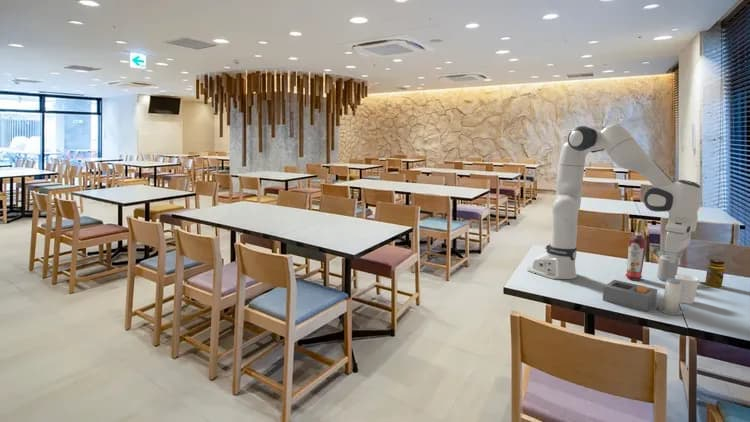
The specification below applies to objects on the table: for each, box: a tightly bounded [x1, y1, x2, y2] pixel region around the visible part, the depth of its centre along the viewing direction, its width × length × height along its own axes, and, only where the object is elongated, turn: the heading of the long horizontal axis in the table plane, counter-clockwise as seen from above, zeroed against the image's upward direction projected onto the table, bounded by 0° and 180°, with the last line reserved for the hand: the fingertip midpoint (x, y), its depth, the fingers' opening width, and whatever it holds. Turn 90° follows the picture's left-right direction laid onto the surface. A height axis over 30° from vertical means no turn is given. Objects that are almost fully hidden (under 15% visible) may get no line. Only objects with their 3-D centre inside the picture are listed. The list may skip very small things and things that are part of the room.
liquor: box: [625, 219, 648, 281], centre depth 204 cm, size 7×7×28 cm
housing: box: [602, 279, 658, 312], centre depth 177 cm, size 16×12×6 cm
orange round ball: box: [636, 284, 649, 293], centre depth 174 cm, size 4×4×4 cm
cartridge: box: [662, 278, 682, 312], centre depth 168 cm, size 5×5×12 cm
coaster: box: [657, 305, 683, 316], centre depth 169 cm, size 8×8×1 cm
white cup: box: [675, 274, 700, 305], centre depth 179 cm, size 8×8×10 cm
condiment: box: [698, 258, 726, 290], centre depth 198 cm, size 7×8×12 cm
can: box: [656, 253, 680, 282], centre depth 205 cm, size 8×8×12 cm
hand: (675, 260), depth 165 cm, fingers open, 8 cm apart
